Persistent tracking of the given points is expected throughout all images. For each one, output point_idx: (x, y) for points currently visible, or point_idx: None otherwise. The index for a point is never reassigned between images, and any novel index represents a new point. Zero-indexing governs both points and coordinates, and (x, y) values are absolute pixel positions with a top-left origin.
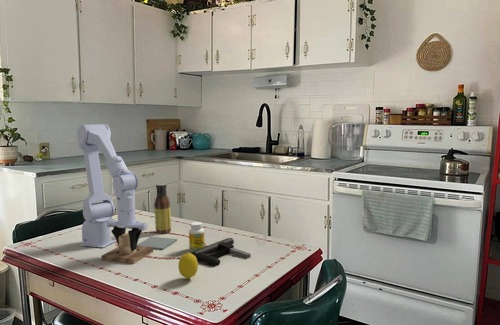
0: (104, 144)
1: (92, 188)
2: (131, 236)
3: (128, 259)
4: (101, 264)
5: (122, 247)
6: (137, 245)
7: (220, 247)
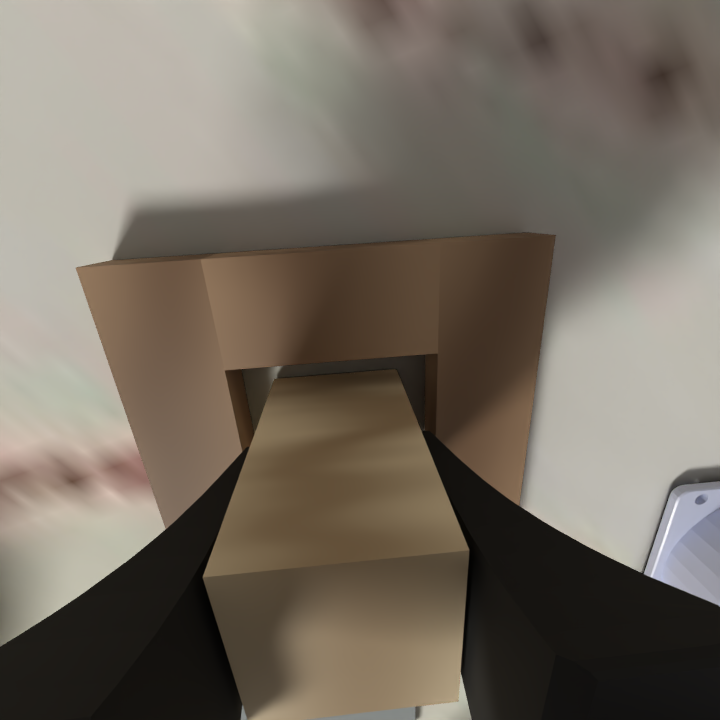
0: None
1: None
2: (105, 613)
3: (158, 260)
4: (451, 105)
5: (364, 427)
6: None
7: None
